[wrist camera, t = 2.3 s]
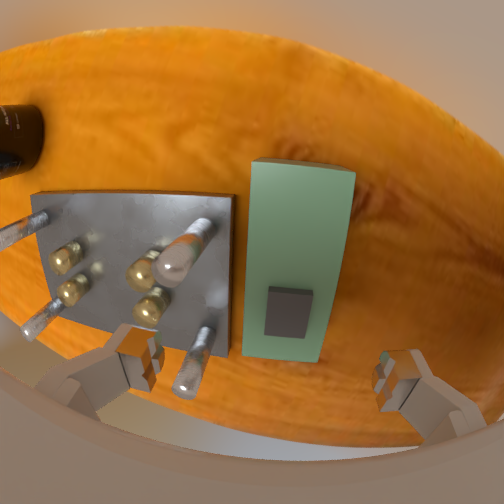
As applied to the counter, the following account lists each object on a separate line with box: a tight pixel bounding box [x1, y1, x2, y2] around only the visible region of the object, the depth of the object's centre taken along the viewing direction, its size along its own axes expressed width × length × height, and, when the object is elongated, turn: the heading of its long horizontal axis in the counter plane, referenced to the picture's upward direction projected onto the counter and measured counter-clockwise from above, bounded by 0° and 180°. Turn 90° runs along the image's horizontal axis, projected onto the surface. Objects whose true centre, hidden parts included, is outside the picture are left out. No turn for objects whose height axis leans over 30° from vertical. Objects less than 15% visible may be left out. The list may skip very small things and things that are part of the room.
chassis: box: [0, 190, 235, 400], centre depth 18 cm, size 19×13×7 cm
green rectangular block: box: [242, 157, 356, 362], centre depth 16 cm, size 12×5×5 cm, turn 177°
